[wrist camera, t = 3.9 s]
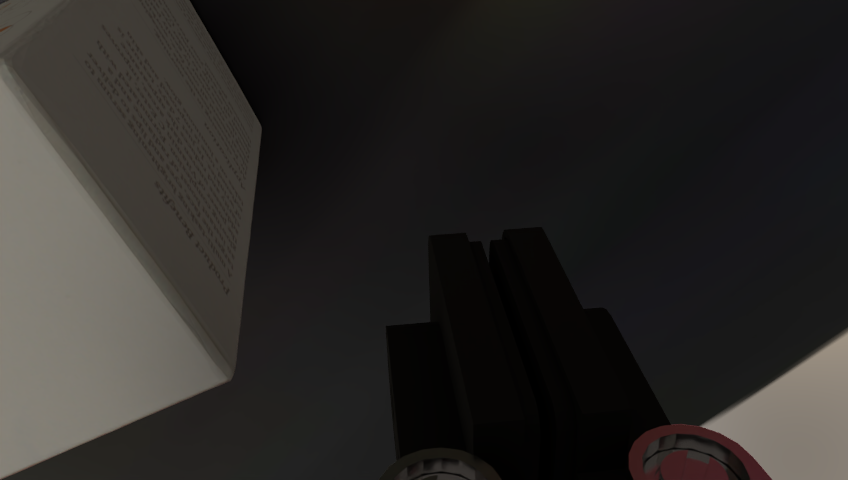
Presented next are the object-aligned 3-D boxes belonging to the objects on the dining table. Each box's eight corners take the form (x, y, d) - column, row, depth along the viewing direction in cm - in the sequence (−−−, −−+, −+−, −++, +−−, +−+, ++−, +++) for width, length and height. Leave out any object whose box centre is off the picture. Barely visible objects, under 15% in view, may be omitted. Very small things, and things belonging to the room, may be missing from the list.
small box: (12, 245, 21) (-206, 579, 12) (-141, 66, 18) (-574, 330, 9) (270, 128, 20) (243, 390, 11) (153, -77, 18) (-5, 58, 9)
